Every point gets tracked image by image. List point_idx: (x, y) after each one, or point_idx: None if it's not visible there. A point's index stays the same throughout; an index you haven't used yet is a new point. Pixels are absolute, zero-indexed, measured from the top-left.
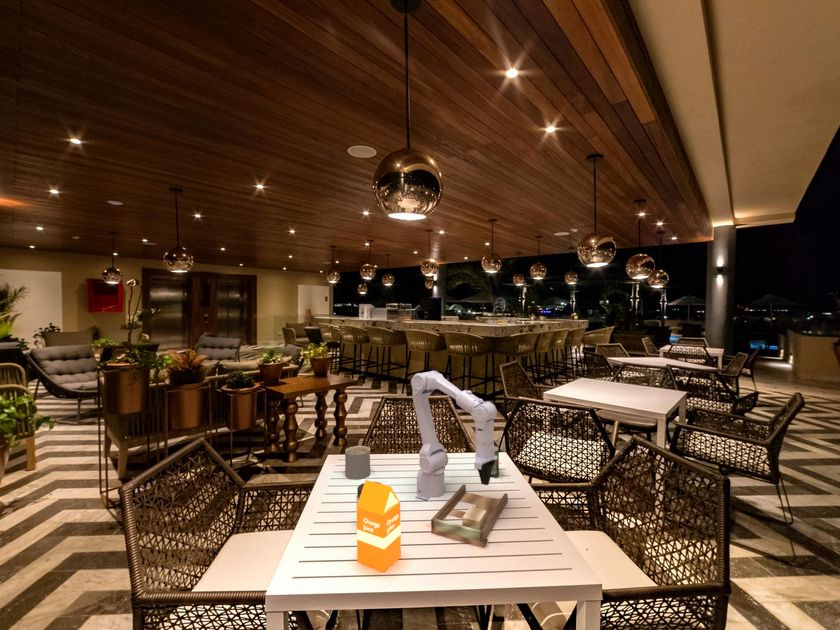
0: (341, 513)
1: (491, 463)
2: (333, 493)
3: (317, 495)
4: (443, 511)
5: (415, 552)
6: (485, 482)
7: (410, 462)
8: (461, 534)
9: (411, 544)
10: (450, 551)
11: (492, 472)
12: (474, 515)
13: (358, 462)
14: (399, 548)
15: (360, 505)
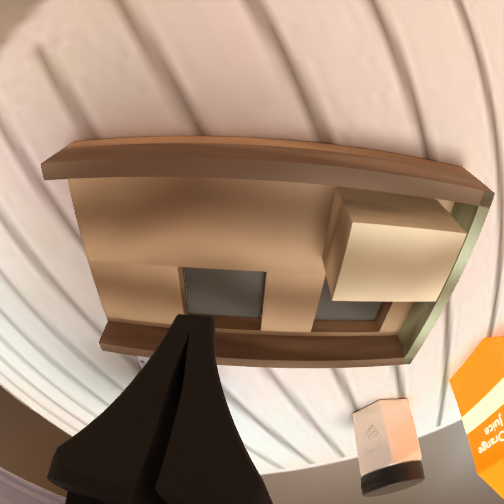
0: (340, 445)
1: (142, 496)
2: (276, 465)
3: (291, 470)
4: (341, 355)
5: (475, 324)
6: (214, 345)
7: (73, 420)
8: None
9: (446, 342)
10: (479, 259)
11: None
12: (417, 264)
13: None
14: (495, 353)
15: None
